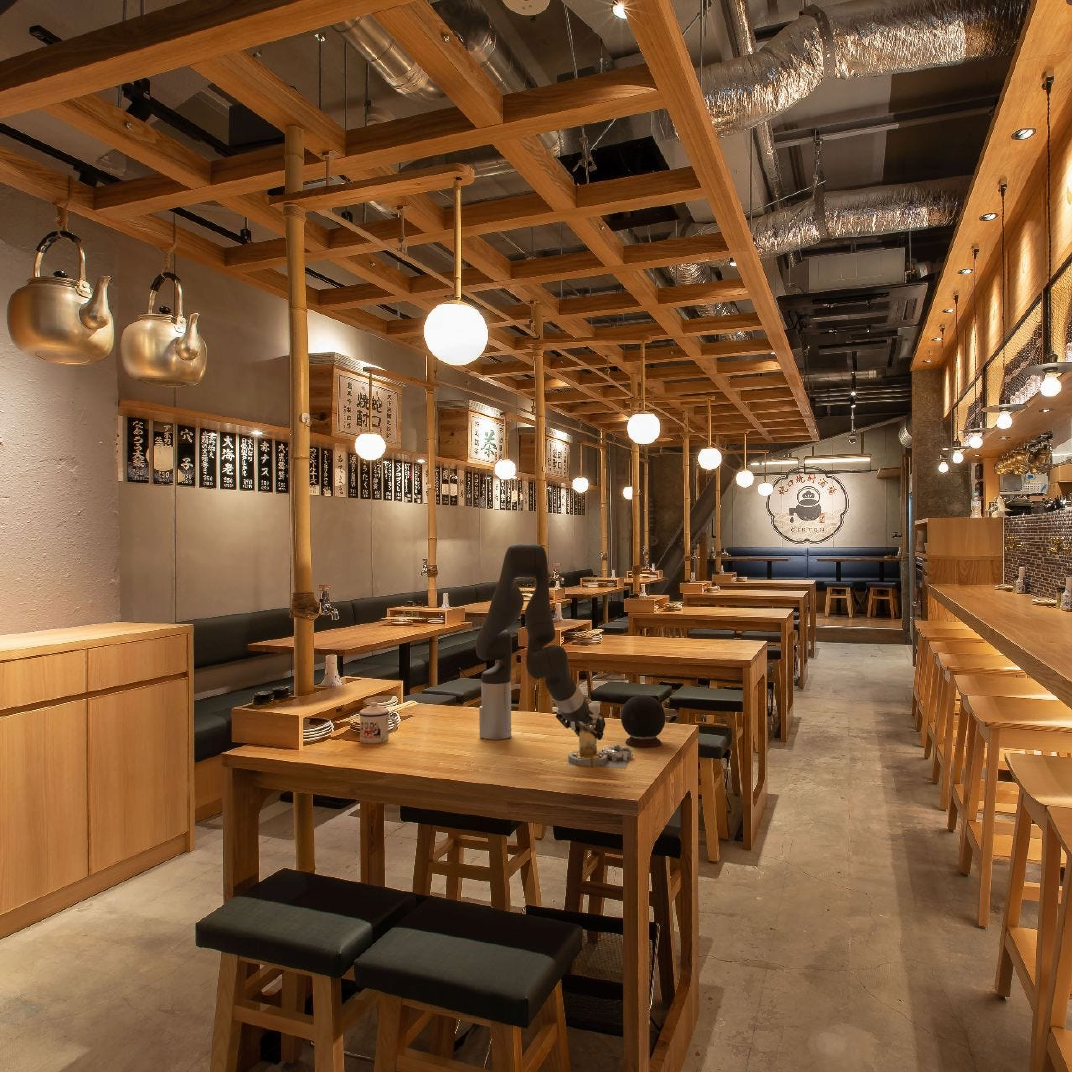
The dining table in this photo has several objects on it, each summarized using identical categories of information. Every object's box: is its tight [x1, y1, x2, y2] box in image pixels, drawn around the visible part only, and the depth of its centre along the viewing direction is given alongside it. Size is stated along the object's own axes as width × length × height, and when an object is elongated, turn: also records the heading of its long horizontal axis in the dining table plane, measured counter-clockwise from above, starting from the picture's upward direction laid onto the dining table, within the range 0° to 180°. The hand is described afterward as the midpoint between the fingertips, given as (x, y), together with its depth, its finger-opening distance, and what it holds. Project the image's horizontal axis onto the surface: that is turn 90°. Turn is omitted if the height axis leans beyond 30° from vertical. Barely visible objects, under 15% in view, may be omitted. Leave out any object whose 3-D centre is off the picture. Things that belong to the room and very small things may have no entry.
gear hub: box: [574, 725, 602, 760], centre depth 209 cm, size 8×7×10 cm
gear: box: [601, 744, 633, 761], centre depth 212 cm, size 8×8×3 cm
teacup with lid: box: [358, 701, 398, 744], centre depth 237 cm, size 12×9×12 cm
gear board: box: [565, 750, 634, 770], centre depth 210 cm, size 16×14×2 cm
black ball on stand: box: [620, 694, 667, 749], centre depth 227 cm, size 13×13×15 cm
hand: (590, 735), depth 211 cm, fingers open, 5 cm apart
